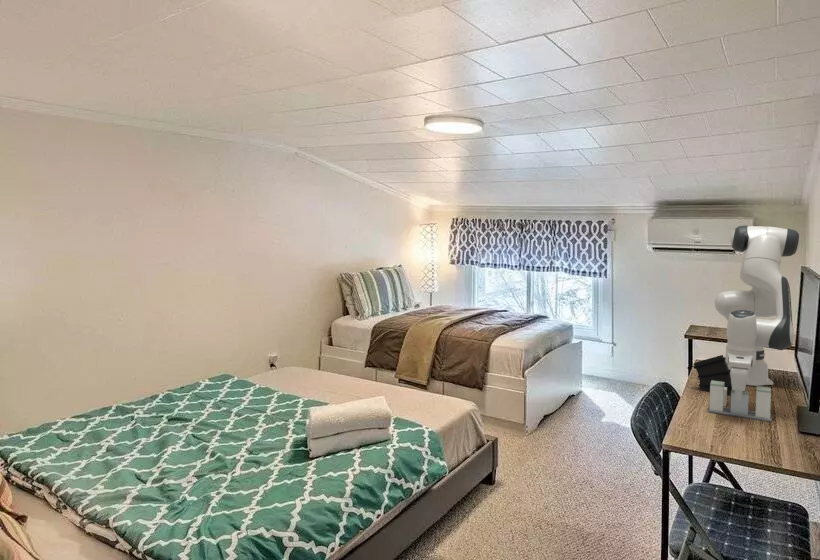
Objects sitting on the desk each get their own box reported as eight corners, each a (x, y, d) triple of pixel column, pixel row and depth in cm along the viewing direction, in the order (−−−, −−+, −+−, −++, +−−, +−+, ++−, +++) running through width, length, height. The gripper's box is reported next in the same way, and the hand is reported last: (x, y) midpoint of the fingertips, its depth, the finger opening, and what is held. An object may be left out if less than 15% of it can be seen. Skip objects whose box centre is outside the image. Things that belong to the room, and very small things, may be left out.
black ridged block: (740, 392, 197) (722, 355, 200) (704, 401, 205) (687, 365, 209) (741, 390, 200) (723, 354, 203) (706, 399, 208) (690, 363, 211)
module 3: (755, 417, 173) (756, 389, 173) (755, 413, 177) (756, 386, 177) (769, 419, 171) (771, 391, 170) (769, 415, 175) (770, 387, 174)
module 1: (709, 410, 181) (710, 383, 180) (710, 406, 185) (711, 380, 184) (722, 412, 179) (723, 385, 178) (723, 408, 183) (724, 381, 182)
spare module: (709, 403, 190) (710, 387, 189) (710, 400, 193) (711, 385, 193) (725, 406, 187) (726, 389, 187) (726, 403, 190) (727, 387, 190)
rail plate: (707, 412, 180) (707, 409, 180) (709, 406, 186) (709, 404, 186) (771, 422, 170) (771, 419, 170) (771, 416, 176) (771, 413, 176)
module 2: (730, 412, 178) (731, 391, 177) (731, 409, 181) (731, 389, 181) (747, 415, 175) (748, 394, 174) (747, 412, 178) (748, 391, 178)
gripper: (731, 350, 187) (729, 387, 188) (728, 362, 170) (726, 403, 172) (752, 352, 184) (750, 390, 185) (751, 365, 167) (749, 406, 168)
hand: (738, 396), depth 178 cm, fingers open, 8 cm apart
